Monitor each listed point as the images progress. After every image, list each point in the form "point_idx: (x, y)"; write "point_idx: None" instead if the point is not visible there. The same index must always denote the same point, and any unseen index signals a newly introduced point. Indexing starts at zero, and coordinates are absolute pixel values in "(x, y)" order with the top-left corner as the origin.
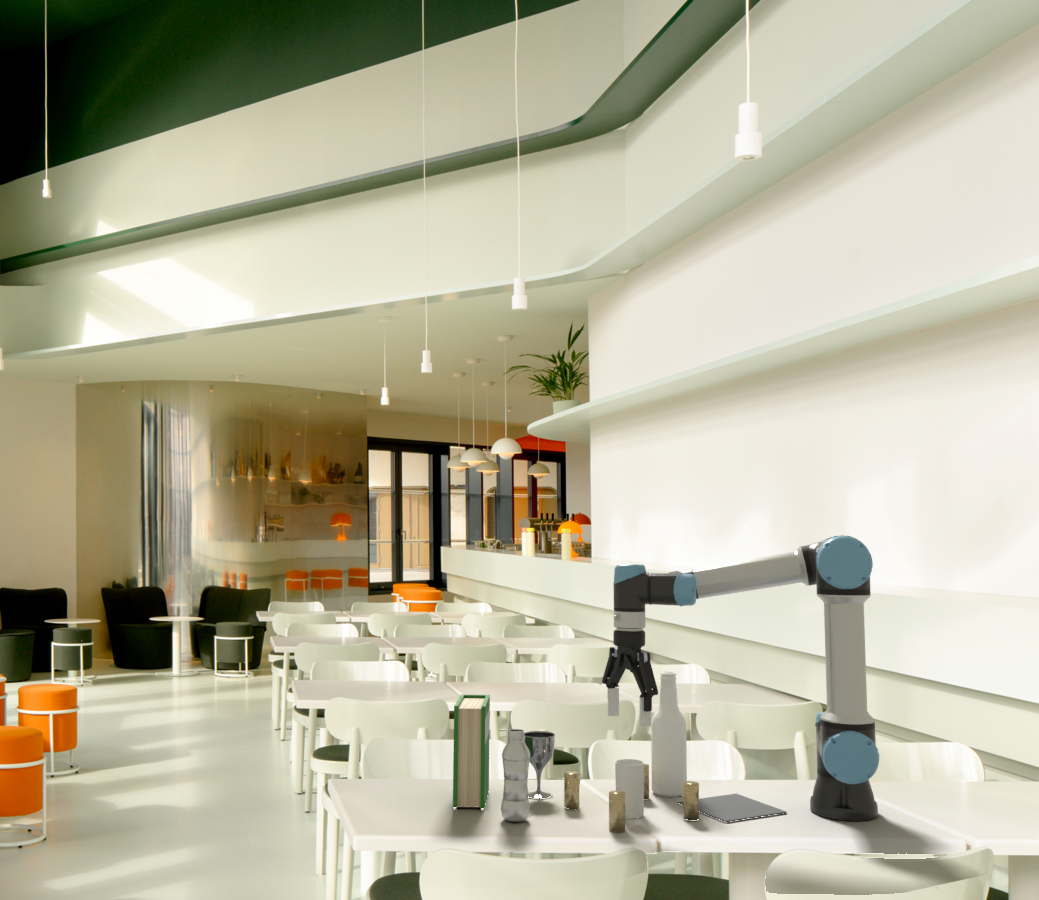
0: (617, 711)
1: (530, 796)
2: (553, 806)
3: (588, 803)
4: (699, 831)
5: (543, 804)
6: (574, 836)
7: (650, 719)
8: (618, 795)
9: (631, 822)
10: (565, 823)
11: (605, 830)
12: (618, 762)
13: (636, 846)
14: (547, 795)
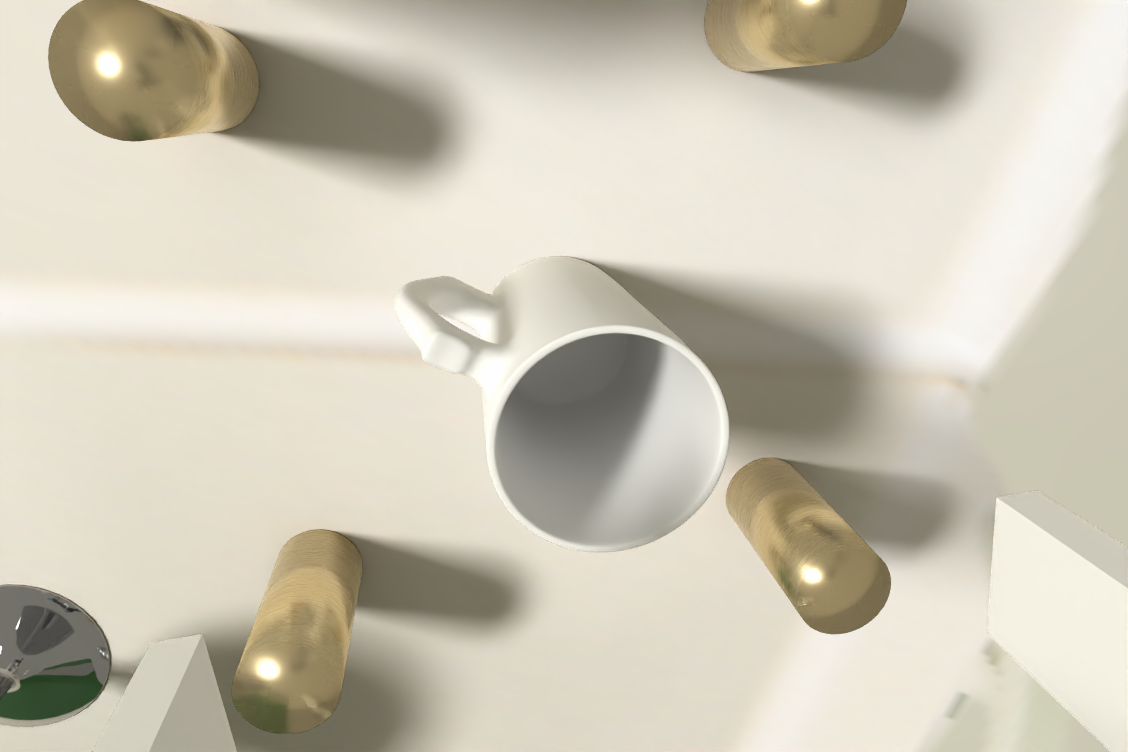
0: (191, 701)
1: (55, 710)
2: None
3: (252, 454)
4: (952, 108)
5: (216, 677)
6: (763, 685)
7: (1095, 538)
8: (885, 599)
9: None
10: (576, 668)
11: (741, 542)
12: (512, 494)
13: (988, 502)
14: (56, 627)
